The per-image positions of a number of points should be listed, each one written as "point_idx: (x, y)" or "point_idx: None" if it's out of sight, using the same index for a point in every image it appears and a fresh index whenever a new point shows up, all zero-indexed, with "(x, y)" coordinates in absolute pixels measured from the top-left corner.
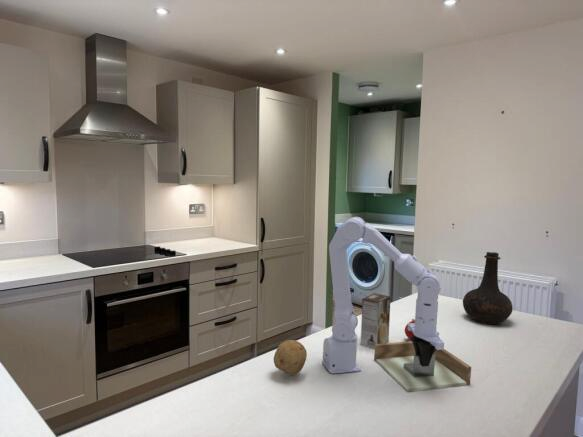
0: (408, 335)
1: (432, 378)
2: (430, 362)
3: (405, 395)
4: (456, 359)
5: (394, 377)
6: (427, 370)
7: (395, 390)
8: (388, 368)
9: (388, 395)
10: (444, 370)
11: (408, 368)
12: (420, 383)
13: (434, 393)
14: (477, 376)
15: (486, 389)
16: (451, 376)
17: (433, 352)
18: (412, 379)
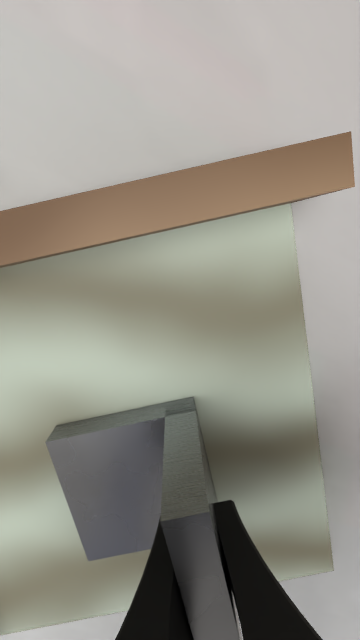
0: None
1: (227, 415)
2: (210, 495)
3: (352, 568)
4: (152, 222)
5: None
6: (207, 466)
7: (304, 595)
8: (107, 603)
9: (342, 627)
10: (108, 290)
11: (147, 544)
12: (283, 498)
13: (354, 440)
14: (152, 27)
15: (354, 73)
16: (201, 278)
17: (313, 634)
18: None
